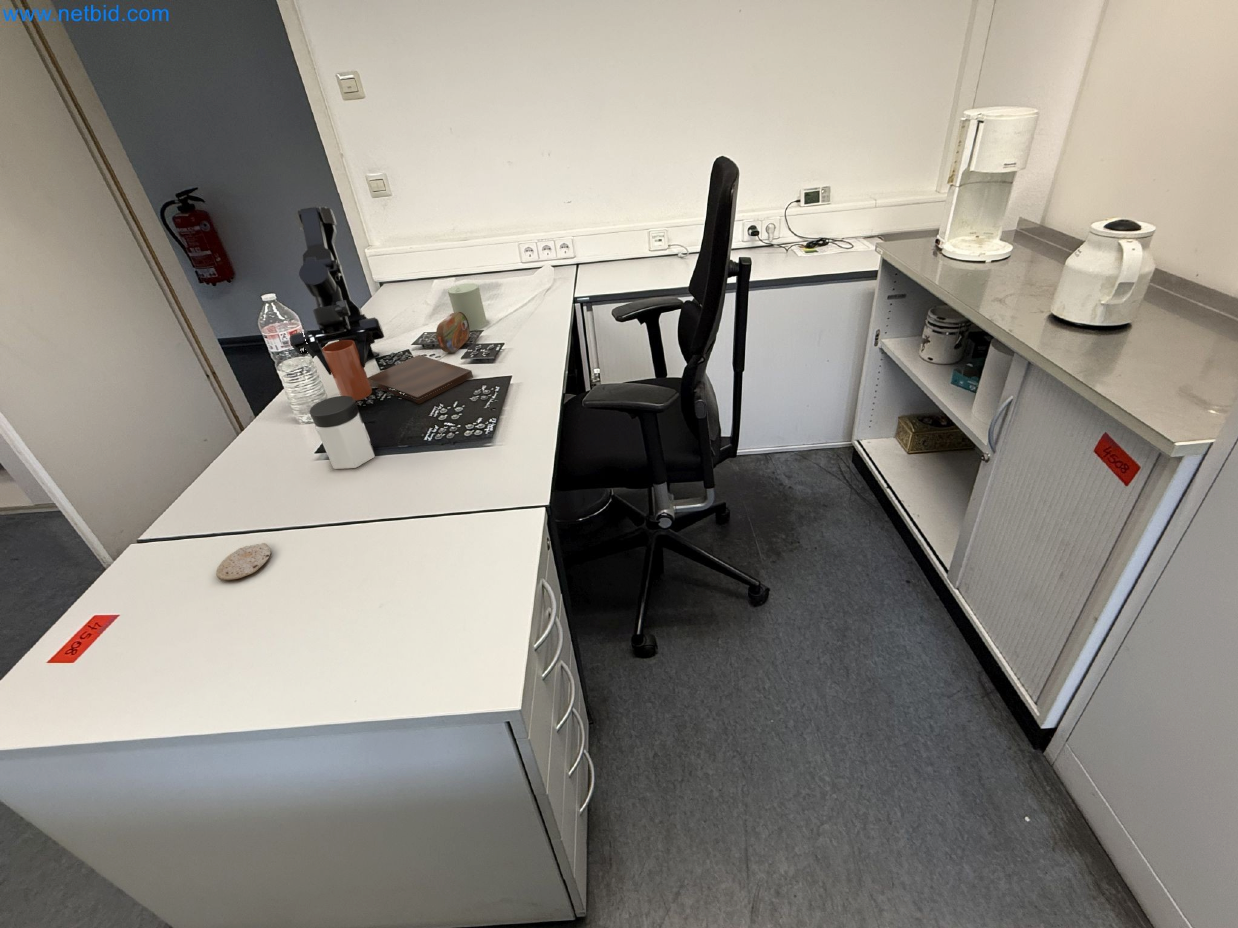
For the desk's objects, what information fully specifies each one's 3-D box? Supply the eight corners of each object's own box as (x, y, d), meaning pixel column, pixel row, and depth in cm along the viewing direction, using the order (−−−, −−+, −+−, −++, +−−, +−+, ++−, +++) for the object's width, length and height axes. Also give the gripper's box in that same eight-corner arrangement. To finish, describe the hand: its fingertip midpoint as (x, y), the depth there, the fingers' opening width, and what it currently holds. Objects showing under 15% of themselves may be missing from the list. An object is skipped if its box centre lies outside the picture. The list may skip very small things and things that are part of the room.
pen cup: (336, 397, 134) (316, 348, 127) (362, 385, 138) (344, 338, 131) (351, 404, 130) (332, 354, 123) (378, 391, 134) (360, 343, 128)
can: (451, 330, 174) (440, 291, 168) (468, 319, 181) (458, 281, 175) (476, 332, 171) (466, 291, 164) (493, 321, 178) (484, 281, 171)
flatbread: (248, 583, 88) (245, 578, 87) (206, 580, 89) (203, 575, 89) (283, 547, 94) (280, 542, 94) (243, 545, 96) (240, 540, 95)
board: (368, 384, 147) (366, 378, 146) (420, 361, 157) (419, 354, 156) (419, 404, 134) (417, 397, 133) (473, 377, 144) (471, 370, 143)
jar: (377, 461, 114) (356, 408, 108) (334, 475, 112) (309, 421, 105) (372, 442, 121) (352, 390, 115) (331, 454, 119) (308, 402, 112)
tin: (450, 357, 157) (442, 327, 152) (440, 357, 157) (431, 327, 153) (473, 335, 169) (465, 307, 164) (463, 336, 169) (455, 307, 165)
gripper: (272, 298, 122) (288, 365, 119) (365, 281, 126) (382, 346, 124) (292, 323, 133) (307, 385, 130) (376, 306, 137) (392, 366, 134)
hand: (346, 370), depth 129 cm, fingers closed on pen cup, 7 cm apart
